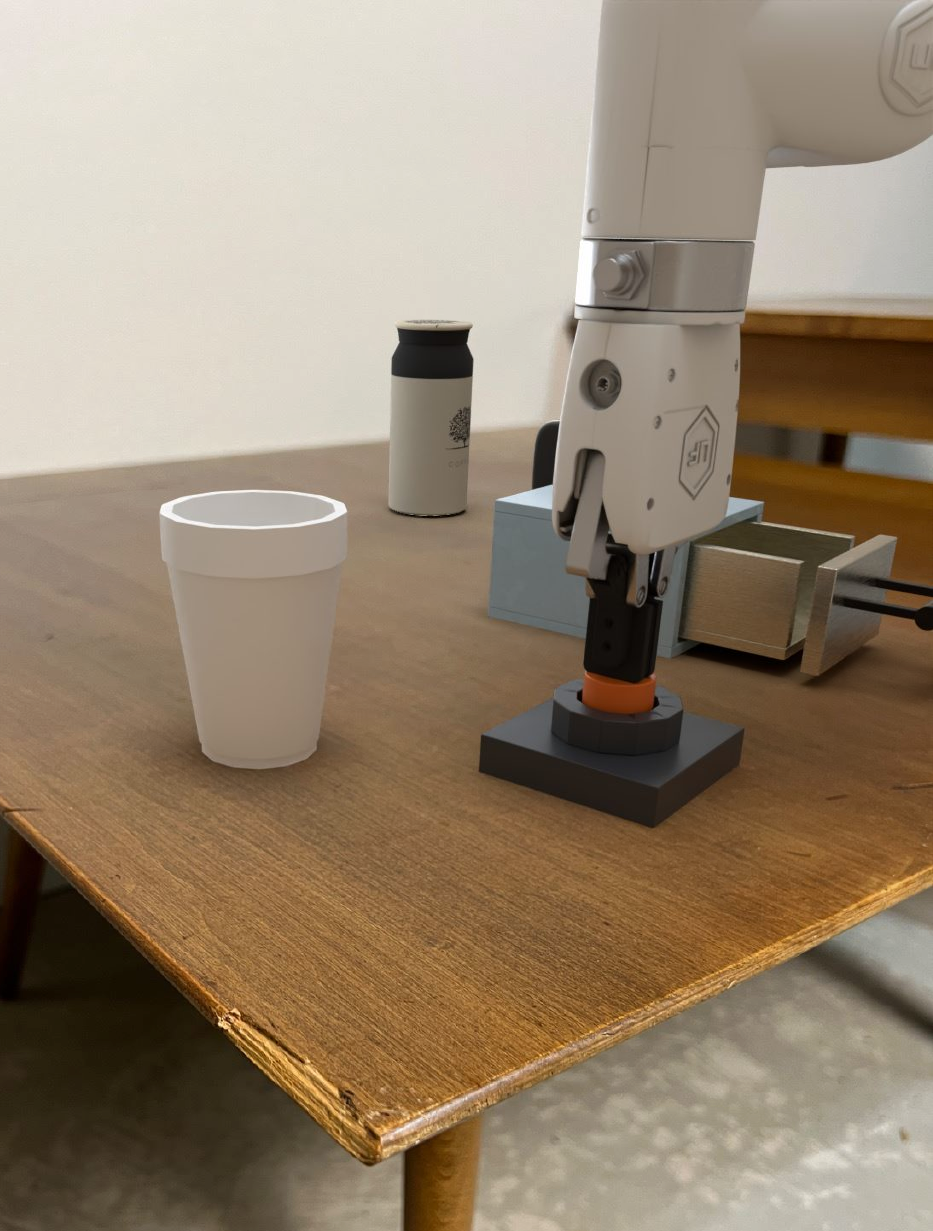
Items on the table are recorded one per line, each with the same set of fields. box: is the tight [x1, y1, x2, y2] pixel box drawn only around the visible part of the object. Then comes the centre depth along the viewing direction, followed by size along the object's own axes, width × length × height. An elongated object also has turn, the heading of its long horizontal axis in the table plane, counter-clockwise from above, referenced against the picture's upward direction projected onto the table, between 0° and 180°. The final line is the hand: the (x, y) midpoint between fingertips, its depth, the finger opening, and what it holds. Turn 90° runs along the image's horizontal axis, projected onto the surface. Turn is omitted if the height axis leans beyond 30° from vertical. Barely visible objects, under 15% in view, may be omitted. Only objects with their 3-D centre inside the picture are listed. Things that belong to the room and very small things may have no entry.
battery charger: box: [531, 418, 560, 490], centre depth 104 cm, size 7×4×11 cm, turn 70°
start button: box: [582, 669, 657, 714], centre depth 61 cm, size 4×4×2 cm
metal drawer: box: [678, 519, 933, 677], centre depth 79 cm, size 19×11×7 cm, turn 50°
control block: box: [478, 678, 746, 829], centre depth 62 cm, size 10×10×4 cm
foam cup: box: [158, 489, 348, 770], centre depth 63 cm, size 10×9×13 cm
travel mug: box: [387, 319, 475, 516], centre depth 119 cm, size 8×8×18 cm
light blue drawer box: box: [487, 485, 765, 659], centre depth 87 cm, size 15×13×9 cm
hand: (617, 673), depth 61 cm, fingers closed
